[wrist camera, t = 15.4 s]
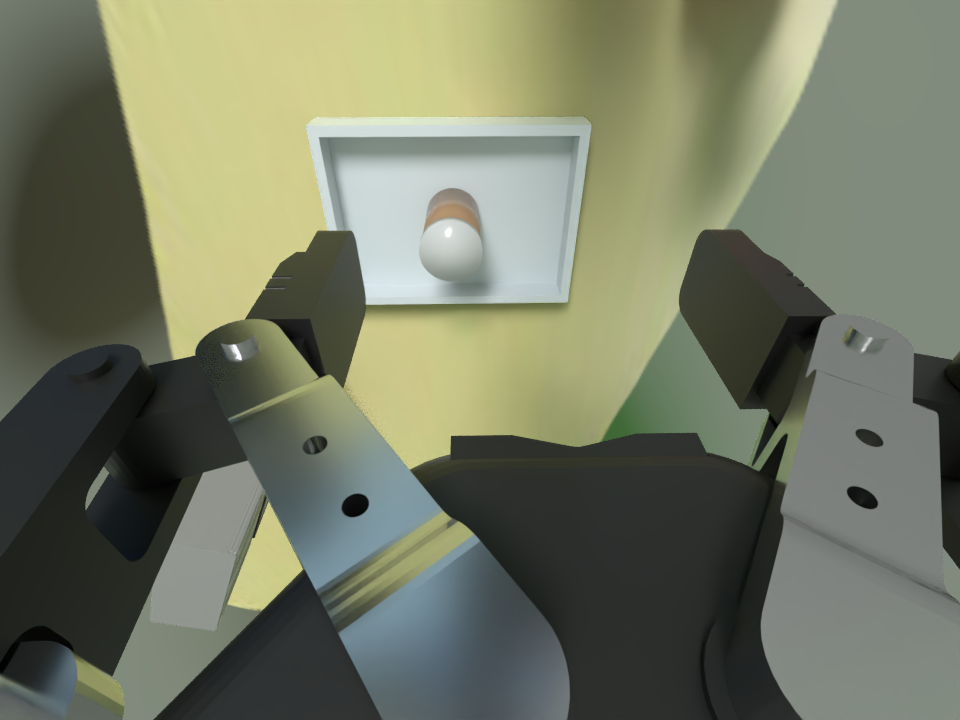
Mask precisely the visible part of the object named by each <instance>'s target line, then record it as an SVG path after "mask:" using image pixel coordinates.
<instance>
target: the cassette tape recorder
mask: <svg viewBox="0 0 960 720" xmlns="http://www.w3.org/2000/svg"><path fill="white" fill-rule="evenodd" d="M267 504H268V499H267V497H266V495H265V493H264V491H263V489H262V487H261V485H260V483H259V481H258V479H257V477H256V475H255V473H254V471H253V469H252V467H251V465H250V464H249V462H248V461H245V462H241V463H237V464H233V465H230V466H226V467H222V468H219V469H215V470H211V471H208V472H204V473H203V474H202V477H201V479H200V481H199V483H198V485H197V488H196V490H195V492H194V494H193V497H192V499H191V501H190V503H189V506H188V508H187V510H186V512H185V515H184V517H183V519H182V521H181V524H180V526H179V528H178V530H177V533H176V535H175V537H174V539H173V541H172V544H171V546H170V548H169V550H168V553H167V555H166V557H165V559H164V562H163V564H162V566H161V568H160V571H159V573H158V575H157V577H156V580H155V582H154V584H153V586H152V596H151V610H150V622H156V623H164V624H170V625H178V626H184V627H190V628H197V629H204V630H211V631H216V629H217V628H218V626H219V623H220V621H221V618H222V616H223V613H224V611H225V608H226V606H227V603H228V600H229V598H230V595H231V593H232V590H233V588H234V585H235V582H236V580H237V577H238V575H239V572H240V570H241V567H242V564H243V562H244V559H245V557H246V554H247V552H248V549H249V546H250V543H251V540H252V538H254V537H255V535H256V532H257V530H258V527H259V525H260V522H261V519H262V517H263V514H264V512H265V509H266V506H267Z"/></svg>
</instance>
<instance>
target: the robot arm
mask: <svg viewBox="0 0 960 720" xmlns="http://www.w3.org/2000/svg"><path fill="white" fill-rule="evenodd" d="M265 288H266V290H263V291H262V293H261V295H260V296H259V298H258V299H257V301H256V303H255V304H254V306H253V307H252V309H251V310H250V312H249V314H248V315H247V317H246V318H245V320H240V321H235V322H232V323H228V324H226V325H223V326H221V327H219V328H217V329H215V330H213V331H211V332H210V333H208V334H207V335H206V336H205V337H203V339H202V340H201V341H200V342H199V343H198V345H197V347H196V350H195V355H196V356H191V357H187V358H182V359H178V360H173V361H168V362H163V363H158V364H153V365H149V366H148V365H147V363H146V362H145V360H144V358H143V357H142V355H141V353H140V352H139V351H138V349H136V348H134V347H132V346H129V345H122V344H112V345H103V346H98V347H95V348H90V349H87V350H84V351H81V352H79V353H76V354H74V355H72V356H70V357H68V358H66V359H64V360H62V361H61V362H59V363H58V364H56V365H55V366H54V367H52V368H51V369H50V370H49V371H48V372H47V373H46V374H45V375H44V376H43V377H42V378H41V379H40V380H39V381H38V382H37V383H36V384H35V385H34V386H33V387H32V389H31V390H30V391H29V392H28V393H27V394H26V395H25V396H24V397H23V398H22V399H21V400H20V401H19V403H18V404H17V405H15V407H14V408H13V409H12V410H11V411H10V412H9V413H8V414H7V415H6V416H5V417H4V418H3V419H2V420H1V422H0V720H122V719H123V714H124V696H123V692H122V689H121V687H120V685H119V683H118V682H117V681H116V680H115V679H114V678H113V677H112V676H113V674H114V671H115V669H116V667H117V665H118V662H119V660H120V658H121V656H122V653H123V651H124V649H125V647H126V644H127V642H128V640H129V638H130V636H131V633H132V631H133V629H134V627H135V624H136V622H137V620H138V618H139V615H140V613H141V611H142V609H143V606H144V604H145V602H146V600H147V597H148V595H149V593H150V591H151V588H152V586H153V584H154V582H155V580H156V577H157V575H158V573H159V571H160V568H161V566H162V564H163V562H164V559H165V557H166V555H167V553H168V550H169V548H170V546H171V544H172V541H173V539H174V537H175V535H176V533H177V530H178V528H179V526H180V524H181V521H182V519H183V517H184V515H185V512H186V510H187V508H188V506H189V503H190V501H191V499H192V497H193V494H194V492H195V490H196V488H197V485H198V483H199V481H200V479H201V477H202V474H203V473H204V472H208V471H211V470H215V469H219V468H222V467H226V466H230V465H233V464H237V463H241V462H245V461H248V462H249V464H250V465H251V467H252V469H253V471H254V473H255V475H256V477H257V479H258V481H259V483H260V485H261V487H262V489H263V491H264V493H265V495H266V497H267V499H268V501H269V503H270V505H271V507H272V509H273V510H274V512H275V514H276V516H277V518H278V520H279V522H280V524H281V526H282V528H283V530H284V532H285V534H286V536H287V538H288V540H289V542H290V544H291V546H292V548H293V550H294V552H295V554H296V556H297V558H298V560H299V562H300V564H301V565H302V567H303V570H302V571H301V572H300V573H299V574H298V575H297V576H296V577H295V578H294V579H293V580H292V581H291V582H290V583H289V584H288V585H287V586H286V587H285V588H284V589H283V590H282V591H281V592H280V593H279V594H278V595H277V596H276V597H275V598H274V599H273V600H272V601H271V602H270V603H269V604H268V605H267V606H266V607H265V608H264V609H263V610H262V611H261V612H260V613H259V614H258V615H257V616H256V617H255V618H254V620H252V621H251V622H250V623H249V625H247V626H246V628H245V629H243V630H242V631H241V632H240V634H239V635H237V636H236V638H235V639H234V640H233V641H231V642H230V644H229V645H227V646H226V647H225V648H224V650H223V651H221V653H220V654H219V655H218V656H217V657H216V658H215V659H214V660H213V661H212V662H211V663H210V664H209V665H208V666H207V667H206V668H205V669H204V670H203V671H202V672H201V673H200V674H199V675H198V676H197V677H196V678H195V679H194V680H193V681H192V682H191V683H190V684H189V685H188V686H187V687H186V688H185V689H184V690H183V691H182V692H181V693H180V694H179V695H178V696H177V697H176V698H175V699H174V700H173V701H172V702H171V703H170V704H169V705H168V706H167V707H166V708H165V709H164V710H163V711H162V712H161V713H160V714H159V715H158V716H157V717H156V718H155V719H154V720H960V603H959V602H958V601H957V600H956V599H955V598H953V597H952V596H951V595H949V593H948V592H947V591H946V588H945V585H944V577H943V576H944V574H943V548H944V549H945V550H946V552H947V553H948V554H949V556H950V557H951V558H952V559H953V561H954V562H955V564H956V565H957V566H958V568H959V569H960V352H959V353H958V354H957V355H956V356H955V357H954V359H953V360H950V359H944V358H939V357H933V356H927V355H922V354H916V353H914V349H913V346H912V344H911V343H910V342H909V341H908V339H907V338H906V337H904V336H903V335H902V334H901V333H899V332H898V331H896V330H894V329H893V328H891V327H889V326H887V325H885V324H882V323H880V322H877V321H875V320H872V319H869V318H865V317H861V316H855V315H847V314H846V315H844V314H839V315H836V314H835V313H834V312H833V311H832V310H831V309H830V308H829V307H828V306H827V305H826V304H825V303H824V302H823V301H822V300H821V299H820V298H818V297H817V296H816V295H815V294H814V293H813V292H812V291H811V290H810V289H809V288H808V287H804V283H803V282H802V281H801V280H799V279H798V278H797V277H795V276H793V273H792V272H791V271H790V270H789V269H788V268H787V267H786V266H784V264H783V263H781V262H780V261H779V260H777V259H775V258H773V257H771V256H769V255H767V254H765V253H764V252H763V251H762V250H761V249H760V248H758V247H757V246H756V245H755V244H754V243H753V242H752V241H751V240H750V239H749V238H748V237H747V236H746V235H745V234H744V233H743V232H742V231H741V230H704V231H702V232H701V233H700V235H699V236H698V238H697V240H696V243H695V246H694V249H693V252H692V255H691V258H690V261H689V264H688V268H687V271H686V274H685V277H684V280H683V283H682V286H681V289H680V294H679V306H680V311H681V313H682V315H683V317H684V319H685V320H686V322H687V323H688V325H689V327H690V329H691V330H692V332H693V333H694V335H695V337H696V338H697V340H698V341H699V343H700V345H701V346H702V348H703V350H704V351H705V353H706V355H707V356H708V358H709V360H710V361H711V363H712V364H713V366H714V368H715V369H716V371H717V373H718V374H719V376H720V377H721V379H722V381H723V382H724V384H725V386H726V387H727V389H728V390H729V392H730V394H731V395H732V397H733V399H734V400H735V402H736V403H737V405H738V407H739V408H740V409H767V410H768V411H769V413H768V415H767V417H766V418H765V420H764V422H763V424H762V425H761V429H760V431H759V434H758V437H757V440H756V442H755V445H754V448H753V451H752V454H751V456H750V459H749V462H748V465H744V464H743V463H740V462H737V461H735V460H732V459H729V458H726V457H722V456H719V455H715V454H712V453H707V452H706V451H705V449H704V447H703V445H702V443H701V440H700V438H699V436H698V434H697V433H656V434H655V433H654V434H633V435H629V436H625V437H621V438H617V439H612V440H608V441H604V442H600V443H595V444H591V445H587V446H582V447H572V446H566V445H561V444H555V443H550V442H545V441H540V440H534V439H529V438H524V437H519V436H513V435H492V436H451V454H450V455H446V456H442V457H439V458H436V459H433V460H430V461H427V462H425V463H423V464H421V465H418V466H416V467H414V468H412V469H411V470H409V469H408V467H407V466H406V465H405V464H404V463H403V461H402V460H401V459H400V458H399V456H398V455H397V454H396V453H395V452H394V450H393V449H392V448H391V447H390V445H389V444H388V443H387V442H386V441H385V439H384V438H383V437H382V436H381V435H380V433H379V432H378V431H377V430H376V428H375V427H374V426H373V425H372V424H371V422H370V421H369V420H368V419H367V417H366V416H365V415H364V414H363V413H362V411H361V410H360V409H359V408H358V406H357V405H356V404H355V403H354V402H353V400H352V399H351V398H350V397H349V395H348V394H347V393H346V392H345V391H344V389H343V388H344V384H345V381H346V378H347V374H348V371H349V367H350V364H351V361H352V357H353V354H354V350H355V347H356V343H357V340H358V337H359V333H360V330H361V326H362V323H363V320H364V316H365V309H366V297H365V288H364V283H363V277H362V272H361V266H360V260H359V255H358V249H357V244H356V239H355V236H354V233H353V232H352V231H317V233H316V235H315V236H314V238H313V240H312V242H311V243H310V245H309V247H308V249H307V251H306V252H296V253H294V254H293V255H291V256H290V257H289V258H287V259H286V260H284V261H283V262H281V263H280V264H279V266H278V267H277V269H276V271H275V272H274V274H273V275H272V279H270V280H269V282H268V283H267V285H266V287H265ZM103 466H104V467H105V468H106V469H107V471H108V472H109V475H108V476H107V478H106V479H105V481H104V483H103V484H102V486H101V487H100V489H99V491H98V492H97V494H96V495H95V497H94V498H93V500H92V502H91V503H90V505H89V506H88V508H87V510H85V502H86V497H87V493H88V491H89V488H90V487H91V485H92V483H93V481H94V480H95V479H96V477H97V476H98V474H99V473H100V471H101V469H102V468H103Z"/></svg>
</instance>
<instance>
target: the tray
mask: <svg viewBox="0 0 960 720" xmlns="http://www.w3.org/2000/svg"><path fill="white" fill-rule="evenodd" d="M591 127H592V124H591V123H590V122H589V121H588V120H587V119H586V118H585V117H584V116H575V117H316V118H314V119H313V120H312V121H311V122H310V123H309V124H307V125H306V129H307V134H308V139H309V144H310V148H311V153H312V158H313V163H314V167H315V172H316V177H317V182H318V186H319V191H320V196H321V201H322V205H323V210H324V215H325V220H326V224H327V229H328V231H352V232H353V233H354V236H355V239H356V244H357V249H358V255H359V260H360V266H361V272H362V277H363V283H364V288H365V297H366V305H384V304H473V303H562V302H568V295H569V288H570V281H571V273H572V266H573V259H574V251H575V244H576V237H577V229H578V222H579V215H580V207H581V200H582V193H583V185H584V178H585V171H586V163H587V156H588V149H589V141H590V134H591ZM448 188H457V189H461V190H464V191H466V192H467V193H469V194H470V195H471V196H472V197H473V198H474V199H475V201H476V203H477V205H478V208H479V217H480V234H481V240H482V247H483V257H482V261H481V264H480V266H479V267H478V269H477V270H476V271H475V272H474V273H473V274H472V275H471V276H469V277H467V278H465V279H463V280H459V281H444V280H441V279H438V278H436V277H434V276H433V275H431V274H430V273H429V272H428V271H427V270H426V269H425V268H424V266H423V265H422V263H421V260H420V256H419V245H420V240H421V236H422V234H423V230H424V225H425V219H426V213H427V208H428V204H429V202H430V200H431V199H432V197H433V196H434V195H435V194H436V193H438V192H439V191H441V190H444V189H448Z"/></svg>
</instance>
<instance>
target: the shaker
mask: <svg viewBox="0 0 960 720" xmlns="http://www.w3.org/2000/svg"><path fill="white" fill-rule="evenodd" d="M419 256H420V260H421V263H422V265H423V266H424V268H425V269H426V270H427V271H428V272H429V273H430V274H431V275H433V276H434V277H436V278H438V279H441V280H444V281H459V280H463V279H465V278H467V277H469V276H471V275H472V274H473V273H474V272H475V271H476V270H477V269H478V267H479V266H480V264H481V261H482V257H483V247H482V240H481V234H480V217H479V208H478V205H477V203H476V201H475V199H474V198H473V197H472V196H471V195H470V194H469V193H467V192H466V191H464V190H461V189H457V188H448V189H444V190H441V191H439V192H438V193H436V194H435V195H434V196H433V197H432V199H431V200H430V202H429V204H428V208H427V213H426V219H425V225H424V230H423V234H422V236H421V240H420V245H419Z"/></svg>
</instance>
